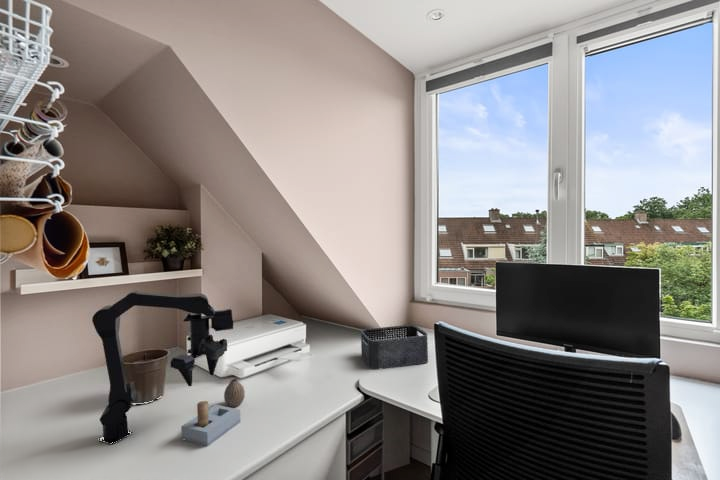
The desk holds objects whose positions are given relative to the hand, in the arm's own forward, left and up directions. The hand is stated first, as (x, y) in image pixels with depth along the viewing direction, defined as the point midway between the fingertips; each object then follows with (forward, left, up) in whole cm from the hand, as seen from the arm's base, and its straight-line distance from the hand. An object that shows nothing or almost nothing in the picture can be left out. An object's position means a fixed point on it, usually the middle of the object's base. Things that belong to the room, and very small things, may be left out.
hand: (201, 380), depth 119 cm
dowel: (+8, -8, -12) cm, 16 cm away
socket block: (+8, -4, -13) cm, 16 cm away
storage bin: (+44, +74, -13) cm, 87 cm away
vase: (+3, +12, -13) cm, 18 cm away
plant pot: (-32, +5, -13) cm, 35 cm away
